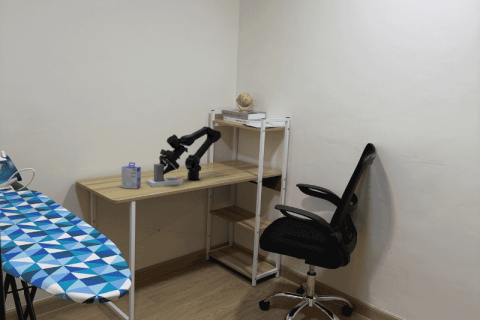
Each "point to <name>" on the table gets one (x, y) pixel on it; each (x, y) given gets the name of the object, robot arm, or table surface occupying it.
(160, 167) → the block
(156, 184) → the power strip
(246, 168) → the table surface
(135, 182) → the ink cartridge box
